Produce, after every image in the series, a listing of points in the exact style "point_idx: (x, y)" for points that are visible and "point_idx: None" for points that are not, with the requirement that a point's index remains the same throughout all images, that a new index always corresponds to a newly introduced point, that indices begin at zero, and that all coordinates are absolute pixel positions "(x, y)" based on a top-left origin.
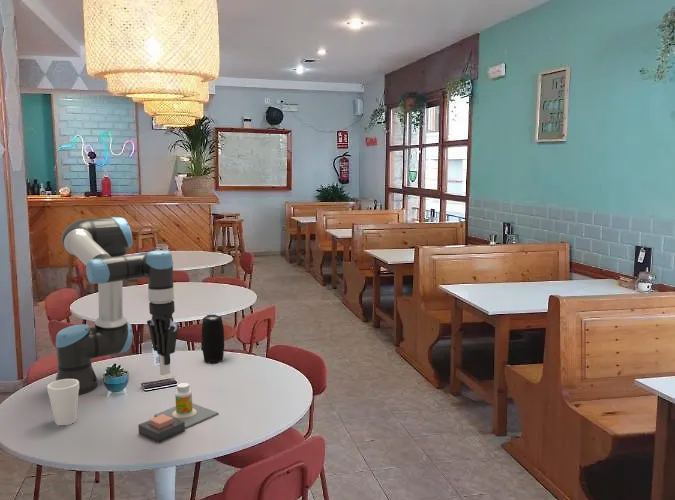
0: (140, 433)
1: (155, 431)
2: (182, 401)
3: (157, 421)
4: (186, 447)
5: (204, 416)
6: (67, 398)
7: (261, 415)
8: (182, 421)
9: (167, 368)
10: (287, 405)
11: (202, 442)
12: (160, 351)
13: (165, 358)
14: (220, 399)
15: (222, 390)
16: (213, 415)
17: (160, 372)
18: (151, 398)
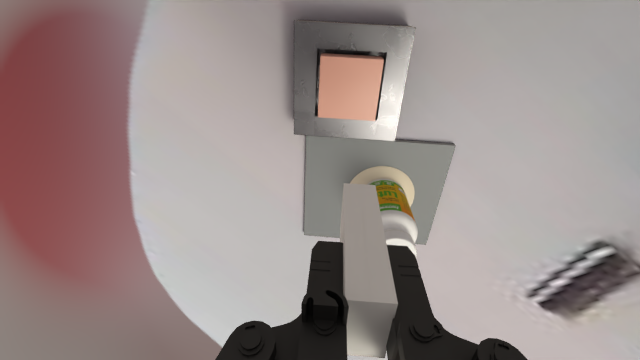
0: (399, 25)
1: (314, 25)
2: None
3: (344, 66)
4: (205, 50)
5: (316, 205)
6: None
7: (221, 267)
8: (302, 133)
9: (341, 237)
10: (221, 315)
11: (199, 101)
12: (399, 346)
13: (321, 285)
14: None
15: None
16: (304, 220)
17: (371, 193)
18: (549, 218)
